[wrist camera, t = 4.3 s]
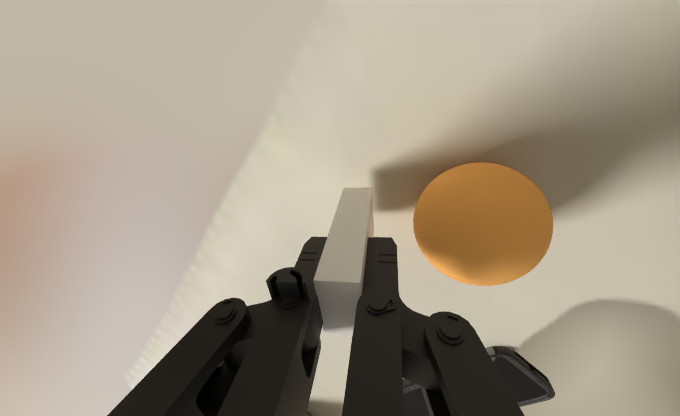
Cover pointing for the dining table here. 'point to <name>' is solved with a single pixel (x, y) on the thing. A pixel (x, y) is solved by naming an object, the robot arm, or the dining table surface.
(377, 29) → the dining table surface
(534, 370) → the phone
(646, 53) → the dining table surface
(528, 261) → the ball
